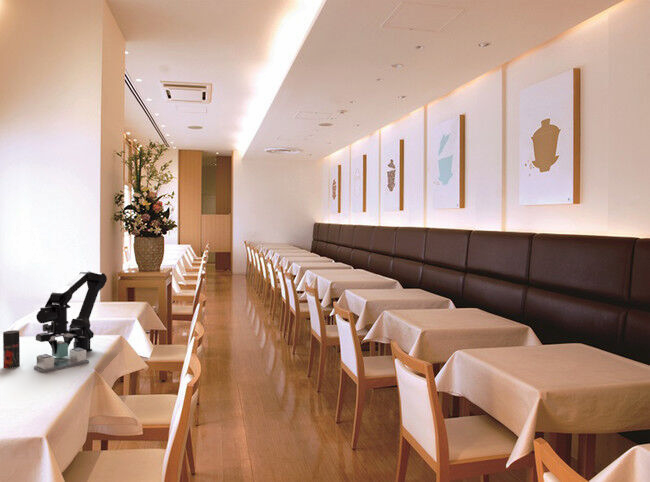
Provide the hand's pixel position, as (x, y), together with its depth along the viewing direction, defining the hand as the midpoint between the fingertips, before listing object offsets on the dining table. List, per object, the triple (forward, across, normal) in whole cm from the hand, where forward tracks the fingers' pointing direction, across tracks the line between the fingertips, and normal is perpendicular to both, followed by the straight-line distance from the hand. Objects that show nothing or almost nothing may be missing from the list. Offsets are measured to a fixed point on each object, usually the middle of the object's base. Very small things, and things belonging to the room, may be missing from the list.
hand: (60, 353), depth 227 cm
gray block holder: (+2, +5, +12) cm, 13 cm away
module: (+1, 0, 0) cm, 1 cm away
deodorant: (+3, +19, -3) cm, 19 cm away
